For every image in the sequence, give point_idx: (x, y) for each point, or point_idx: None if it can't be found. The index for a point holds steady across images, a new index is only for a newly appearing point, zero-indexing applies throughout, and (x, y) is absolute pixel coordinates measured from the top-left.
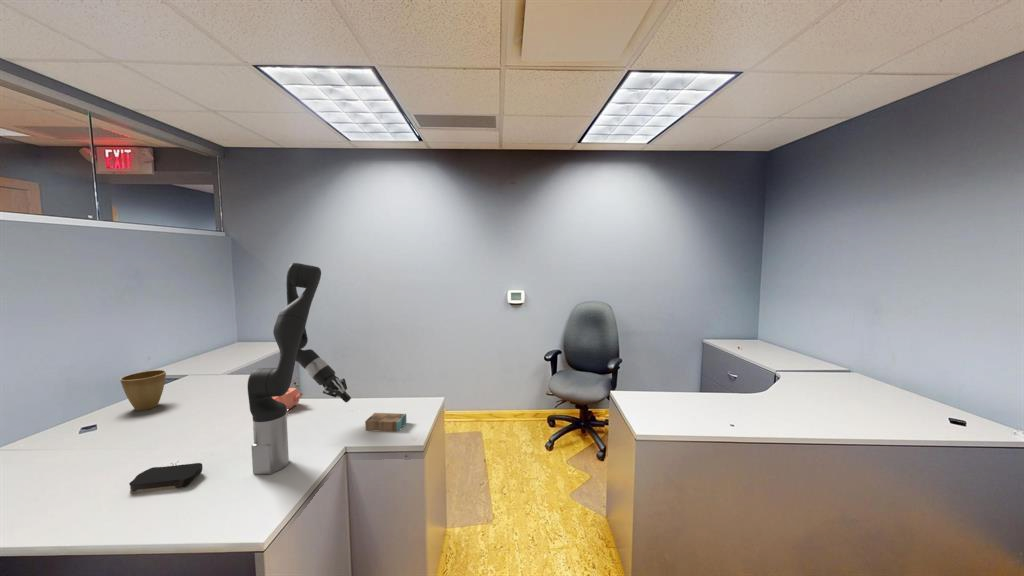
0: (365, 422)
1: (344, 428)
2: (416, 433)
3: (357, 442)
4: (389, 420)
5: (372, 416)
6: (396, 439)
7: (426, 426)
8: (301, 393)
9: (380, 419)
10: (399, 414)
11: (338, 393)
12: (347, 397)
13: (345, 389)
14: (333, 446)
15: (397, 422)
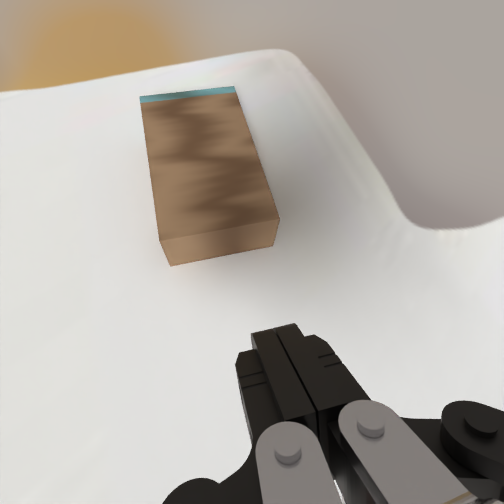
0: (278, 222)
1: None
2: (227, 73)
3: (373, 205)
4: (231, 122)
5: (213, 220)
6: (289, 103)
7: (167, 67)
8: None
9: (234, 162)
10: (154, 116)
11: (485, 406)
12: (305, 339)
13: (221, 499)
14: (453, 274)
15: (234, 91)
